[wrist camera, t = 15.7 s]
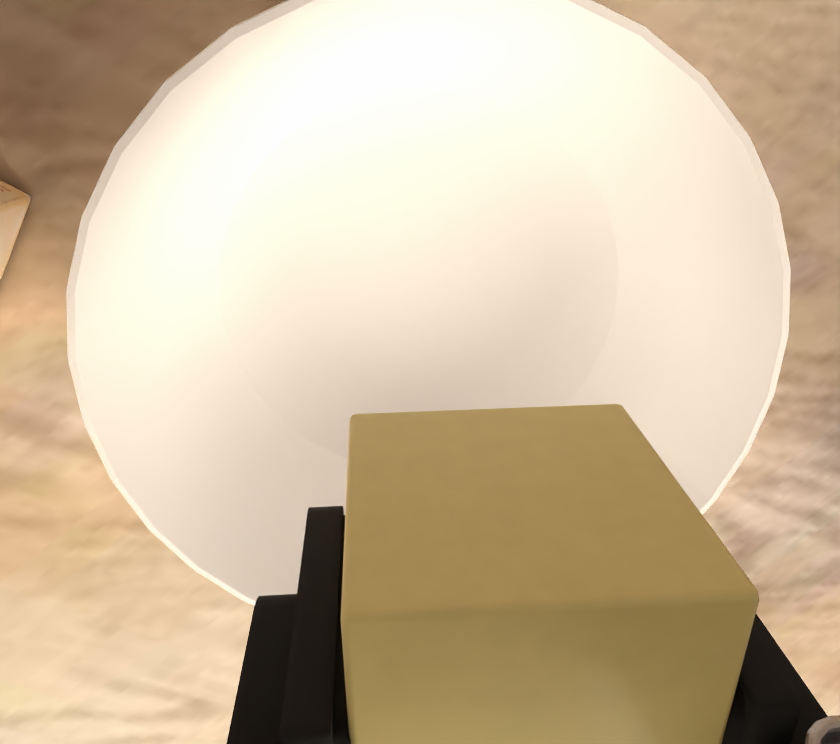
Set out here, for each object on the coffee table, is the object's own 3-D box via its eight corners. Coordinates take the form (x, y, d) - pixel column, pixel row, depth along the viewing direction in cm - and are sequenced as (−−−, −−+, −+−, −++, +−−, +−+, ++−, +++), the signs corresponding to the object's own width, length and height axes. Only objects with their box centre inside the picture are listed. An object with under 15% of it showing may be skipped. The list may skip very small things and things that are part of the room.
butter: (349, 411, 10) (339, 617, 6) (621, 401, 10) (765, 594, 6) (365, 705, 12) (365, 974, 9) (583, 691, 13) (671, 948, 9)
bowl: (277, -144, 19) (230, -248, 12) (783, 172, 23) (947, 220, 17) (80, 398, 25) (-22, 522, 18) (508, 561, 30) (549, 707, 23)
